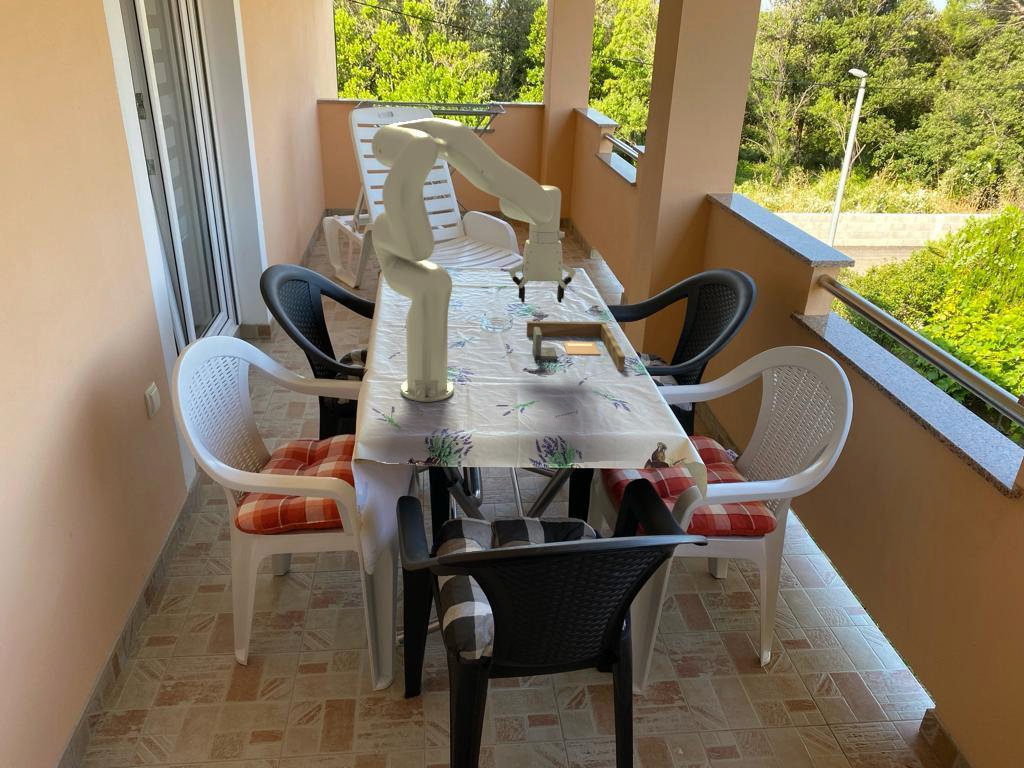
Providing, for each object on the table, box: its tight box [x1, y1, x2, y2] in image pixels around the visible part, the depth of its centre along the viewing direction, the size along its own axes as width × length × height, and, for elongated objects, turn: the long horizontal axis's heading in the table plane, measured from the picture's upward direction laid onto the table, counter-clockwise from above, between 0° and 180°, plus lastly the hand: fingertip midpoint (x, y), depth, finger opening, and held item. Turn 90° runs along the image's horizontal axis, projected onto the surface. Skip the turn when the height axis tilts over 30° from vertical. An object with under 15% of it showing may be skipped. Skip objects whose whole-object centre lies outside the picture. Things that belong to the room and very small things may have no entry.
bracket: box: [531, 327, 558, 362], centre depth 199 cm, size 6×6×8 cm
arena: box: [526, 320, 626, 372], centre depth 204 cm, size 26×23×4 cm
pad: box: [562, 341, 601, 356], centre depth 207 cm, size 9×9×1 cm
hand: (540, 301), depth 194 cm, fingers open, 9 cm apart
